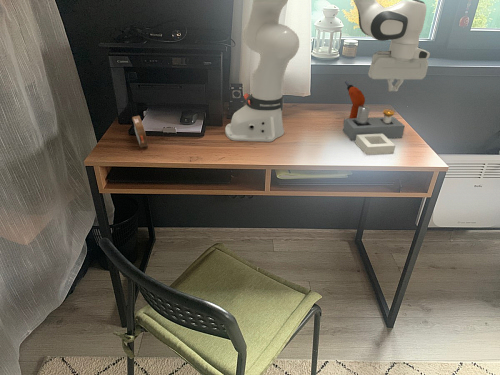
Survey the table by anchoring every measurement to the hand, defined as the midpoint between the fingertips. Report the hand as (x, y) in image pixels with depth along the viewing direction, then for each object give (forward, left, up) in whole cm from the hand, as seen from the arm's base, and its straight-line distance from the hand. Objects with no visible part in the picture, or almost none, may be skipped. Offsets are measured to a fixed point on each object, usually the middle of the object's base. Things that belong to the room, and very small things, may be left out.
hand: (392, 91), depth 136 cm
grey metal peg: (-10, 0, -17) cm, 19 cm away
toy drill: (-9, +14, -17) cm, 24 cm away
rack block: (-9, -11, -17) cm, 22 cm away
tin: (-91, +3, -17) cm, 92 cm away
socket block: (-5, 0, -17) cm, 17 cm away
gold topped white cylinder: (0, 0, -17) cm, 17 cm away
